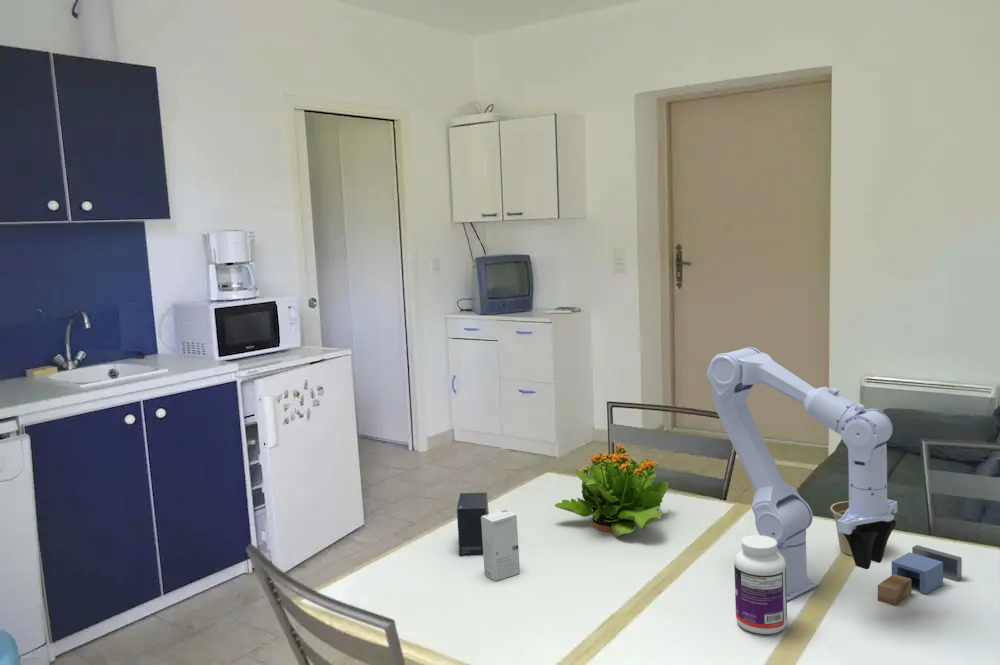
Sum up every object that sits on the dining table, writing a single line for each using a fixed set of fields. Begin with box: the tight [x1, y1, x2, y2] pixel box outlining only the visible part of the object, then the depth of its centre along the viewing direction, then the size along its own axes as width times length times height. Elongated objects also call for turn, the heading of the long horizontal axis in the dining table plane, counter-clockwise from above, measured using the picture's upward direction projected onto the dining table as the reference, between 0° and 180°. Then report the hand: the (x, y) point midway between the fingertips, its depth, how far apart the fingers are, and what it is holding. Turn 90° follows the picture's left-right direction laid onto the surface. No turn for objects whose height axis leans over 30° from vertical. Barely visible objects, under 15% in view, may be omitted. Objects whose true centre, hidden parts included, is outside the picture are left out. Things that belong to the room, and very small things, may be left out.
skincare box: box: [481, 509, 521, 582], centre depth 155 cm, size 6×4×12 cm
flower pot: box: [829, 500, 853, 557], centre depth 155 cm, size 9×9×9 cm
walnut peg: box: [877, 574, 912, 607], centre depth 136 cm, size 6×3×3 cm, turn 129°
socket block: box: [891, 552, 944, 595], centre depth 140 cm, size 6×6×4 cm
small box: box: [456, 492, 490, 556], centre depth 171 cm, size 11×6×10 cm, turn 179°
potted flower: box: [554, 444, 669, 538], centre depth 178 cm, size 25×24×18 cm
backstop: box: [911, 544, 963, 582], centre depth 144 cm, size 2×8×4 cm, turn 35°
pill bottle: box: [733, 534, 788, 635], centre depth 129 cm, size 8×8×14 cm
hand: (868, 563), depth 131 cm, fingers open, 3 cm apart
